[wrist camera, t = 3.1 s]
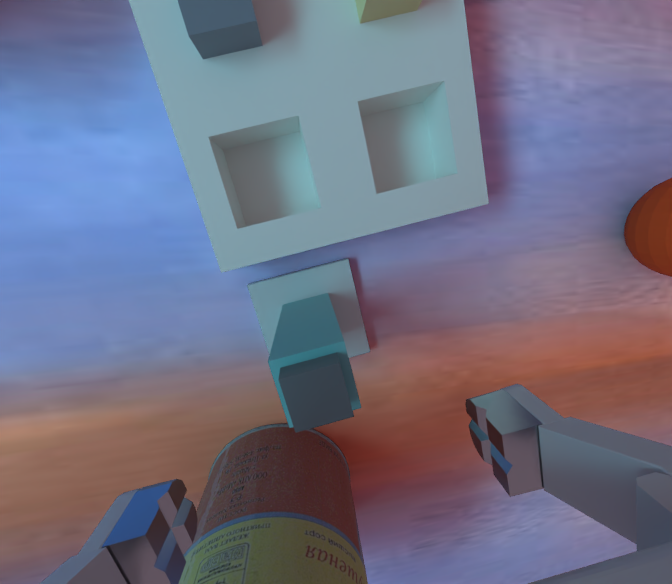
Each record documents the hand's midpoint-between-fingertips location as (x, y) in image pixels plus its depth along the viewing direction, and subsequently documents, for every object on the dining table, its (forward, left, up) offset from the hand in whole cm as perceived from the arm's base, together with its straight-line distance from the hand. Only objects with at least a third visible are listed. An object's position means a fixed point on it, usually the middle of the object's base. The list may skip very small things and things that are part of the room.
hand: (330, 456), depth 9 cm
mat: (0, 0, -14) cm, 14 cm away
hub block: (+12, -4, -14) cm, 19 cm away
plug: (0, 0, -14) cm, 14 cm away
